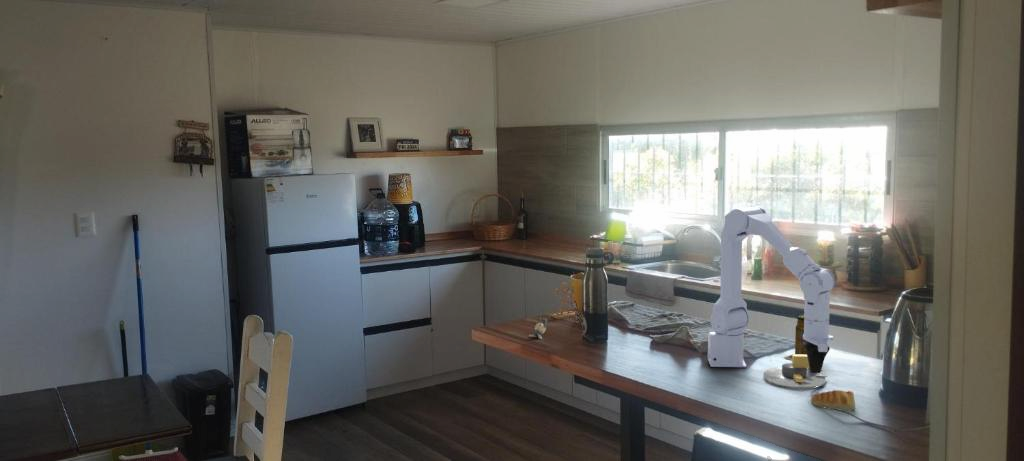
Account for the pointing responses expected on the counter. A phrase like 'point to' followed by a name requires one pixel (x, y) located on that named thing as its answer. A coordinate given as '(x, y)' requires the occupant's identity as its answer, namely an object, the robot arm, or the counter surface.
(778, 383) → the post plate
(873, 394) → the counter surface
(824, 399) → the pastry
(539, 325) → the grey cream animal figurine
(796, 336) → the condiment
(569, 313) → the gingerbread man figurine
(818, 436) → the counter surface
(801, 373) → the multicoloured piece
